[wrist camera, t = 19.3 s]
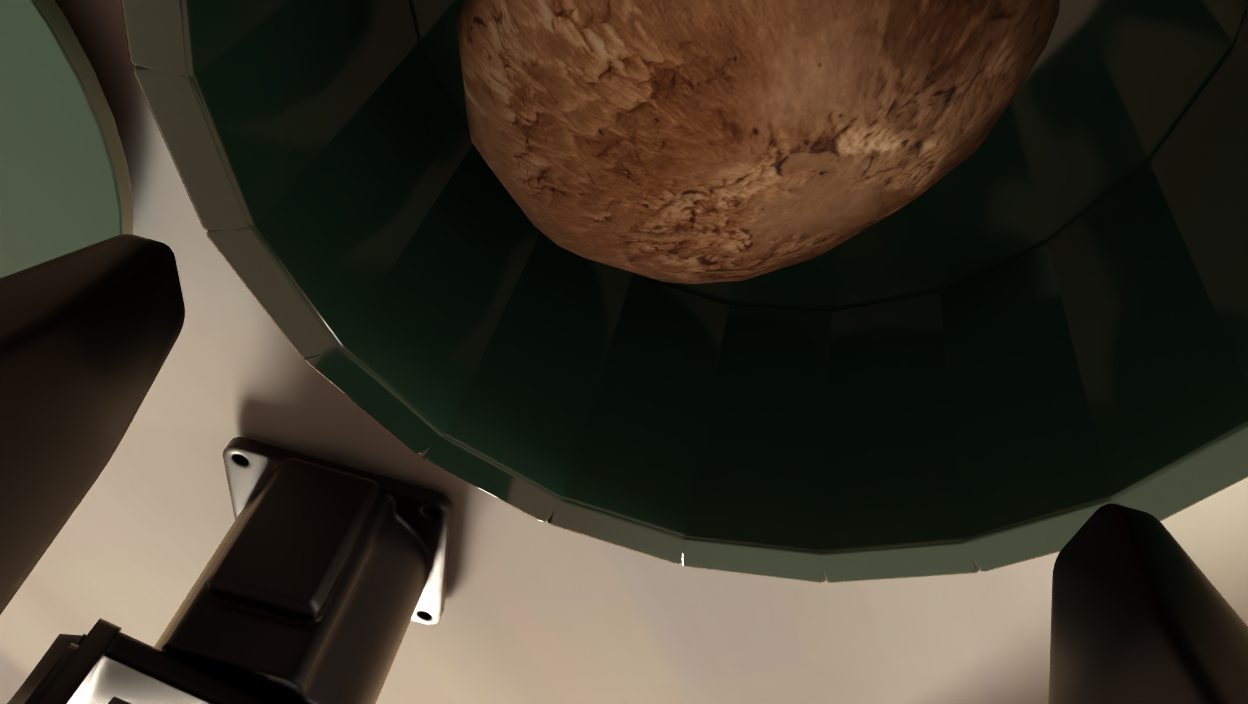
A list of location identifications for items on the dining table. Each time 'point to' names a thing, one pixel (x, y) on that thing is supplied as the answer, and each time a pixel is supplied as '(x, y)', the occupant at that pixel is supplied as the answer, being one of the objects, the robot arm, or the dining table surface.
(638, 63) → the mushroom
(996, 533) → the pot
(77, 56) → the pot lid
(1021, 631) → the dining table surface
